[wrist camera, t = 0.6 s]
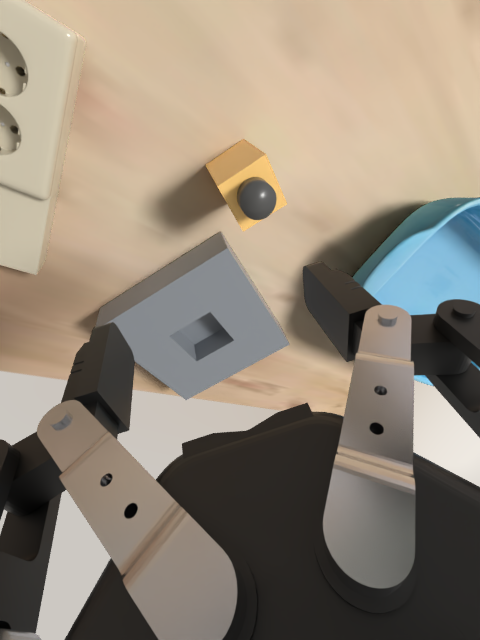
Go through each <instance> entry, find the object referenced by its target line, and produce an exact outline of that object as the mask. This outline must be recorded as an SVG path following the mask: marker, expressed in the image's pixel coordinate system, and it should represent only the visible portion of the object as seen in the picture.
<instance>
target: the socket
mask: <svg viewBox="0 0 480 640" xmlns="http://www.w3.org/2000/svg"><path fill="white" fill-rule="evenodd" d="M111 322H114V323H115V324H116V325H117V327H118V328H119V330H120V332H121V333H122V335H123V337H124V338H125V340H126V341H127V343H128V345H129V346H130V348H131V350H132V352H133V356H134V361H135V362H136V363H138V364H139V365H140V366H142V367H143V368H144V369H146V370H147V371H148V372H150V373H151V374H152V375H154V376H155V377H156V378H158V379H159V380H160V381H162V382H163V383H164V384H166V385H167V386H168V387H170V388H171V389H172V390H174V391H175V392H176V393H178V394H179V395H180V396H182V397H183V398H184V399H186V400H187V399H189V398H191V397H193V396H194V395H196V394H198V393H200V392H202V391H204V390H206V389H207V388H209V387H211V386H213V385H215V384H217V383H219V382H220V381H222V380H224V379H226V378H228V377H230V376H232V375H233V374H235V373H237V372H239V371H241V370H243V369H245V368H246V367H248V366H250V365H252V364H254V363H256V362H258V361H259V360H261V359H263V358H265V357H267V356H269V355H271V354H272V353H274V352H276V351H278V350H280V349H282V348H284V347H285V346H287V345H289V342H288V340H287V338H286V336H285V334H284V332H283V330H282V328H281V326H280V324H279V323H278V321H277V320H276V318H275V316H274V315H273V313H272V312H271V310H270V308H269V307H268V305H267V304H266V302H265V301H264V299H263V297H262V296H261V294H260V293H259V291H258V289H257V288H256V286H255V285H254V283H253V282H252V280H251V278H250V277H249V275H248V274H247V272H246V271H245V269H244V267H243V266H242V264H241V263H240V261H239V259H238V258H237V256H236V255H235V253H234V252H233V250H232V248H231V247H230V245H229V244H228V242H227V241H226V239H225V237H224V236H223V234H222V233H221V231H220V232H219V233H217V234H216V235H214V236H212V237H211V238H209V239H208V240H206V241H205V242H203V243H201V244H200V245H198V246H197V247H195V248H194V249H192V250H190V251H189V252H187V253H186V254H184V255H183V256H181V257H179V258H178V259H176V260H175V261H173V262H172V263H170V264H168V265H167V266H165V267H164V268H162V269H161V270H159V271H157V272H156V273H154V274H153V275H151V276H150V277H148V278H146V279H145V280H143V281H142V282H140V283H138V284H137V285H135V286H134V287H132V288H131V289H129V290H127V291H126V292H124V293H123V294H121V295H120V296H118V297H116V298H115V299H113V300H112V301H110V302H109V303H107V304H105V305H104V306H102V307H101V308H100V310H99V314H98V318H97V322H96V326H95V327H98V326H101V325H105V324H108V323H111Z"/></svg>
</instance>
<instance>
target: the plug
mask: <svg viewBox="0 0 480 640" xmlns="http://www.w3.org/2000/svg"><path fill="white" fill-rule="evenodd" d="M206 167H207V169H208V171H209V173H210V174H211V176H212V178H213V180H214V181H215V183H216V185H217V187H218V189H219V190H220V192H221V194H222V196H223V197H224V199H225V201H226V202H227V204H228V206H229V208H230V209H231V211H232V213H233V215H234V216H235V218H236V220H237V222H238V223H239V225H240V227H241V229H242V230H243V231H245V230H246V229H248V228H250V227H251V226H253V225H254V224H256V223H258V222H259V221H261V220H262V219H264V218H266V217H268V216H269V215H270V214H272V213H274V212H275V211H277V210H278V209H280V208H282V207H283V206H285V205H286V204H287V202H286V200H285V198H284V195H283V193H282V191H281V188H280V186H279V184H278V181H277V179H276V176H275V174H274V172H273V169H272V167H271V165H270V162H269V160H268V158H267V155H266V154H265V153H264V152H262V151H261V150H259V149H258V148H256V147H255V146H253V145H252V144H250V143H249V142H247V141H246V140H245V139H243V140H241V141H240V142H238V143H237V144H235V145H234V146H232V147H231V148H230V149H228V150H227V151H225V152H224V153H222V154H221V155H219V156H218V157H216V158H215V159H213V160H212V161H211V162H209V163H208V164H206Z"/></svg>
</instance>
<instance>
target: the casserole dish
mask: <svg viewBox="0 0 480 640" xmlns="http://www.w3.org/2000/svg"><path fill="white" fill-rule="evenodd" d="M352 278H353V279H354V280H355V282H357V283H359V284H360V285H361V287H363V288H364V289H365V290H366V291H367V292H369V293H370V294H371V295H372V296H373V297H374V298H375V299H376V300H377V301H379V302H380V303H381V304H382V305H393V306H397V307H400V308H402V309H404V310H405V311H407V312H408V313H409V314H410V315H423V314H436V310H437V307H438V305H439V304H440V303H442V302H444V301H447V300H452V299H462V300H468V301H472V302H475V303H478V304H480V197H479V198H447V199H441V200H437V201H433V202H430V203H428V204H426V205H424V206H422V207H420V208H419V209H417V210H416V211H414V212H413V213H412V214H411V215H410V216H408V217H407V218H406V219H405V220H404V221H403V222H402V223H401V224H400V225H399V226H398V227H397V228H396V229H395V230H394V231H393V233H392V234H391V235H390V236H389V237H388V238H387V239H386V240H385V241H384V242H383V243H382V244H381V246H380V247H379V248H378V249H377V250H376V251H375V252H374V253H373V254H372V255H371V257H370V258H369V259H368V260H367V261H366V262H365V263H364V264H363V265H362V267H361V268H360V269H359V270H358V271H357V272H356V273H355V275H354V276H353V277H352ZM471 363H472V364H473V365H474V366H475V367H477V368H478V369H479V370H480V368H479V367H478V366H477V365H476V364H475V363H474V362H473V361H471ZM414 380H416V381H419V382H421V383H424V384H427V385H431V386H434V385H433V384H432V383H431V382H430V381H429V380H428V378H427V377H426V376H425V375H415V376H414Z"/></svg>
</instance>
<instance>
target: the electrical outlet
mask: <svg viewBox="0 0 480 640" xmlns="http://www.w3.org/2000/svg"><path fill="white" fill-rule="evenodd" d="M85 49H86V40H85V38H84V37H83V36H82V35H80V34H78V33H77V32H75V31H74V30H72V29H71V28H69V27H67V26H66V25H64V24H63V23H61V22H60V21H58V20H56V19H55V18H53V17H52V16H50V15H48V14H47V13H45V12H44V11H42V10H41V9H39V8H37V7H36V6H34V5H33V4H31V3H29V2H28V1H26V0H0V265H2V266H6V267H9V268H13V269H16V270H20V271H23V272H27V273H31V274H34V275H37V274H38V272H39V271H40V269H41V268H42V266H43V264H44V263H45V261H46V257H47V251H48V246H49V241H50V235H51V230H52V225H53V219H54V214H55V209H56V203H57V198H58V193H59V187H60V182H61V177H62V171H63V166H64V161H65V156H66V150H67V145H68V140H69V134H70V129H71V124H72V118H73V113H74V108H75V102H76V97H77V92H78V86H79V81H80V76H81V70H82V65H83V60H84V55H85Z"/></svg>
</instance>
